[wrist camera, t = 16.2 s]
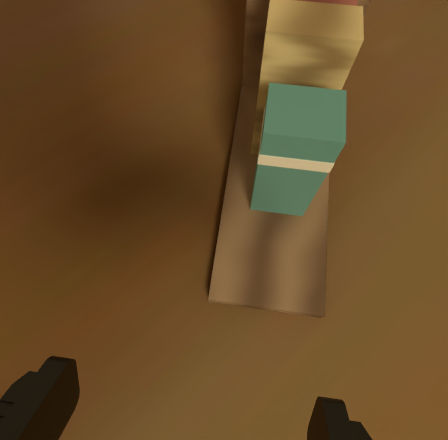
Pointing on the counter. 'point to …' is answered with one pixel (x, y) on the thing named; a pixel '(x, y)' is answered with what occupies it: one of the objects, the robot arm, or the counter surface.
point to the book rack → (248, 151)
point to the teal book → (297, 146)
